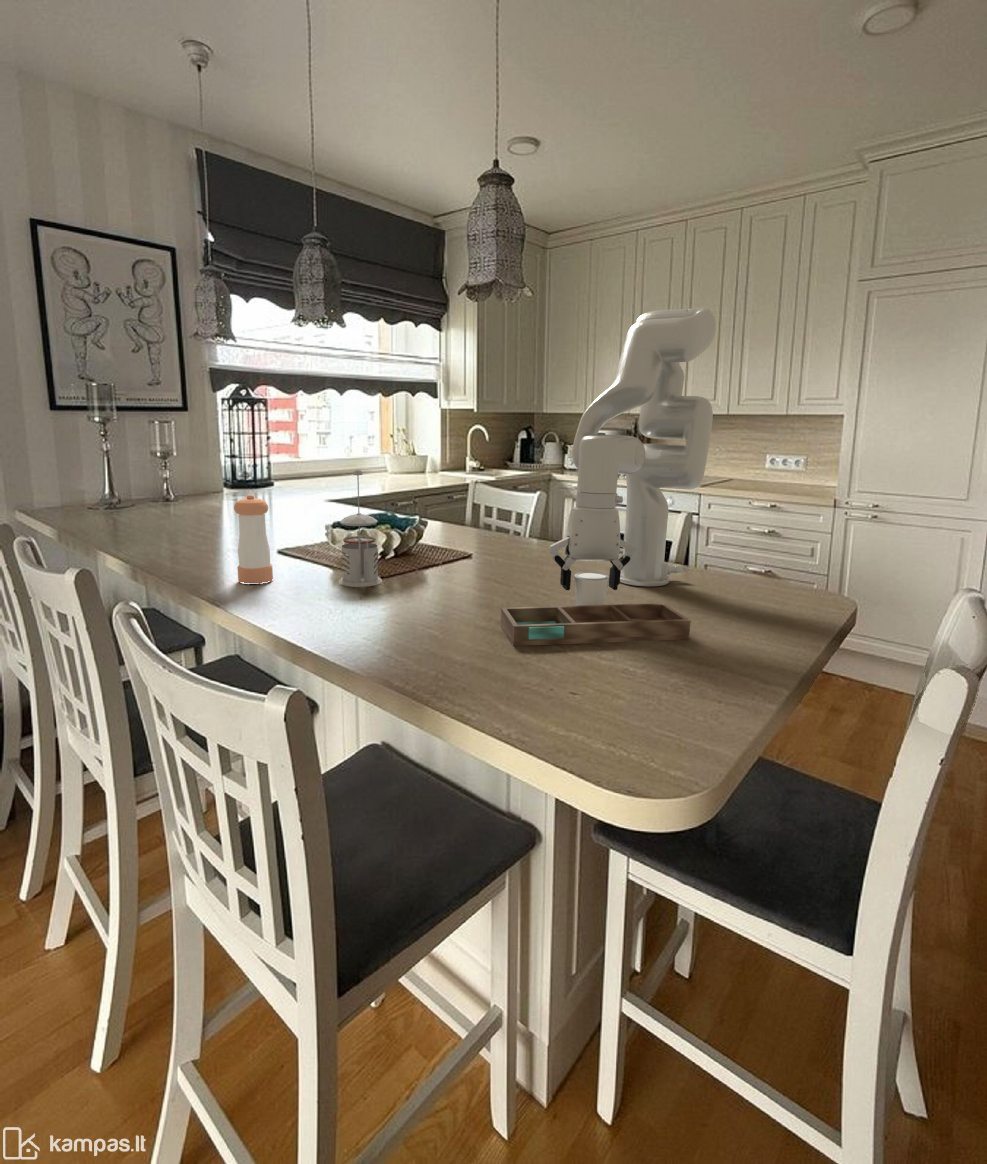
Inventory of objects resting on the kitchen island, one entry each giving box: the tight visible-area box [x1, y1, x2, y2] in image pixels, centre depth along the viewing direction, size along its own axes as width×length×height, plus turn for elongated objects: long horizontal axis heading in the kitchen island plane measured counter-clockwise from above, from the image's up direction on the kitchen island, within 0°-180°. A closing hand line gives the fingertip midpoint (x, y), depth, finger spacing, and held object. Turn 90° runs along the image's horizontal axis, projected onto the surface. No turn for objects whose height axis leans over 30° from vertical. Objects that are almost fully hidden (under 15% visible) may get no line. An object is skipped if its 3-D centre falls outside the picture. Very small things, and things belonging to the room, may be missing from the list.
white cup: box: [574, 571, 609, 606], centre depth 133 cm, size 7×7×7 cm
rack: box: [500, 602, 691, 647], centre depth 119 cm, size 31×12×3 cm, turn 100°
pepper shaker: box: [233, 494, 274, 583], centre depth 147 cm, size 7×7×19 cm
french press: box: [338, 469, 383, 588], centre depth 148 cm, size 10×12×25 cm
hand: (589, 588), depth 132 cm, fingers open, 9 cm apart
